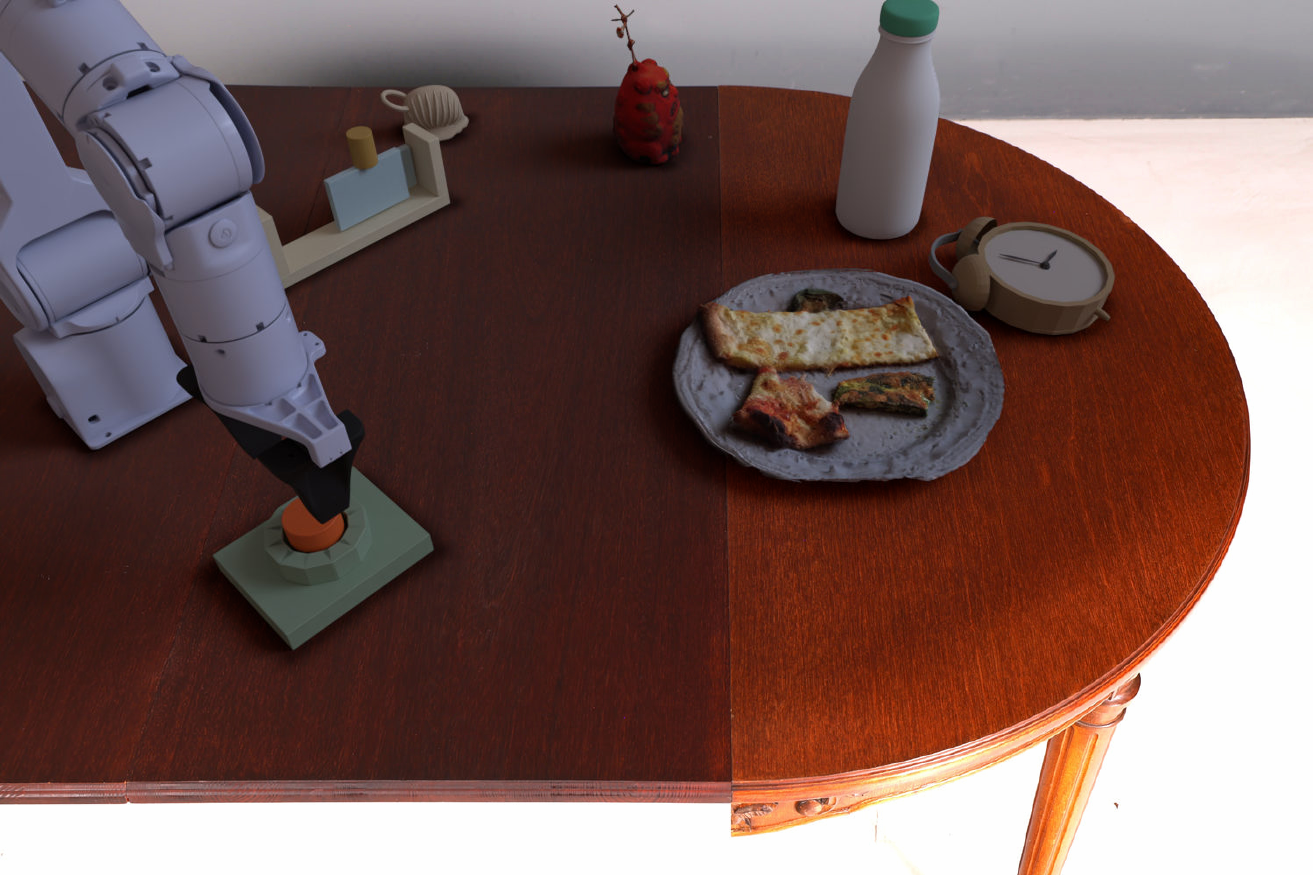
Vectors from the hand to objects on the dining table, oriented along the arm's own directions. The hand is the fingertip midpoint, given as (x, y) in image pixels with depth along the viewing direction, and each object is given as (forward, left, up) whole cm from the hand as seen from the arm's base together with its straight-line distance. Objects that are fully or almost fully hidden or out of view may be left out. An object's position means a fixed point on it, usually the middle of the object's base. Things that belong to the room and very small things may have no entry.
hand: (298, 480), depth 65 cm
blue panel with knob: (+25, +30, -6) cm, 39 cm away
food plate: (+37, -14, -8) cm, 40 cm away
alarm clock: (+57, -18, -8) cm, 60 cm away
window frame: (+23, +30, -8) cm, 38 cm away
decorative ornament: (+39, +40, -8) cm, 56 cm away
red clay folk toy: (+52, +21, -8) cm, 56 cm away
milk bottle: (+58, -3, -8) cm, 59 cm away
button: (0, 0, -5) cm, 5 cm away
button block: (0, 0, -8) cm, 8 cm away
